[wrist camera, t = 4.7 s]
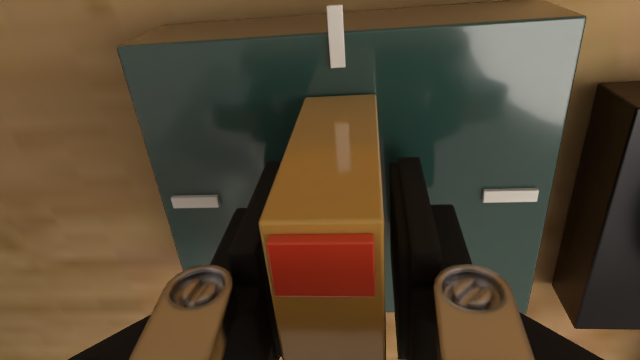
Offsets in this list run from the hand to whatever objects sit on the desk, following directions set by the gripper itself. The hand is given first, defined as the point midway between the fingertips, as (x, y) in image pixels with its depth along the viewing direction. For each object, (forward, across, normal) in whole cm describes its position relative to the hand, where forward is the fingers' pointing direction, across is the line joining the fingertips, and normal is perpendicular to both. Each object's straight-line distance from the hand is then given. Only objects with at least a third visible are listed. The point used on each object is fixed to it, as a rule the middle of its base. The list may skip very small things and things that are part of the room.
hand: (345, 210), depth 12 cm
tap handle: (+1, 0, 0) cm, 1 cm away
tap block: (+4, 0, 0) cm, 4 cm away
